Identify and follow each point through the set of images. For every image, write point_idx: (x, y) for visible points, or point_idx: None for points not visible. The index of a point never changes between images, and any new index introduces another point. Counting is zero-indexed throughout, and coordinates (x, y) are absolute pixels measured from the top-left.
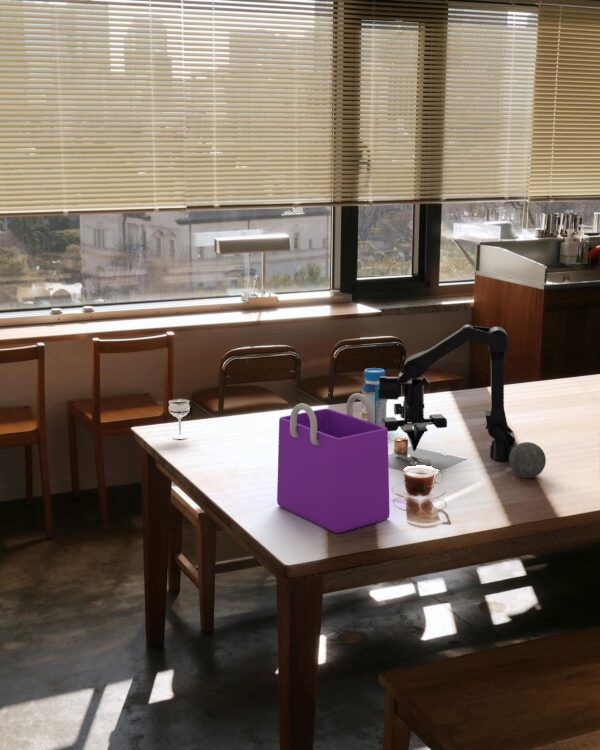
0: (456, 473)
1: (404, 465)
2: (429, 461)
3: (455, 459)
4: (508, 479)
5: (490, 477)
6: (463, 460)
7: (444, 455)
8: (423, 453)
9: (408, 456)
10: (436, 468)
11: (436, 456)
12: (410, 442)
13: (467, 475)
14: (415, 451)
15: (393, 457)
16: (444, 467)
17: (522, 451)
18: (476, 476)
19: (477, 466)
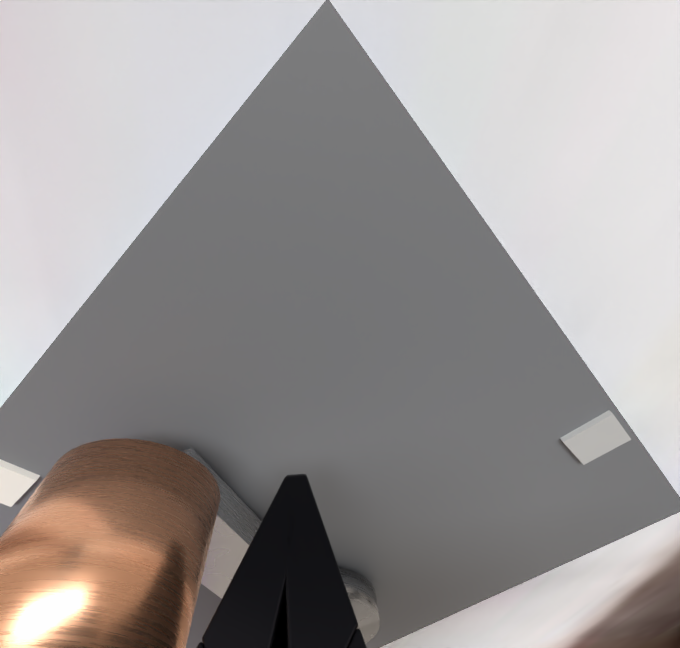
0: (483, 603)
1: None
2: (371, 628)
3: (604, 514)
4: (650, 634)
5: (600, 625)
6: (640, 529)
7: (583, 453)
8: (420, 379)
9: (222, 568)
10: (393, 620)
11: (504, 458)
12: (235, 592)
13: (519, 616)
14: (349, 305)
15: None
16: (446, 609)
17: None
18: (551, 621)
19: (664, 535)
